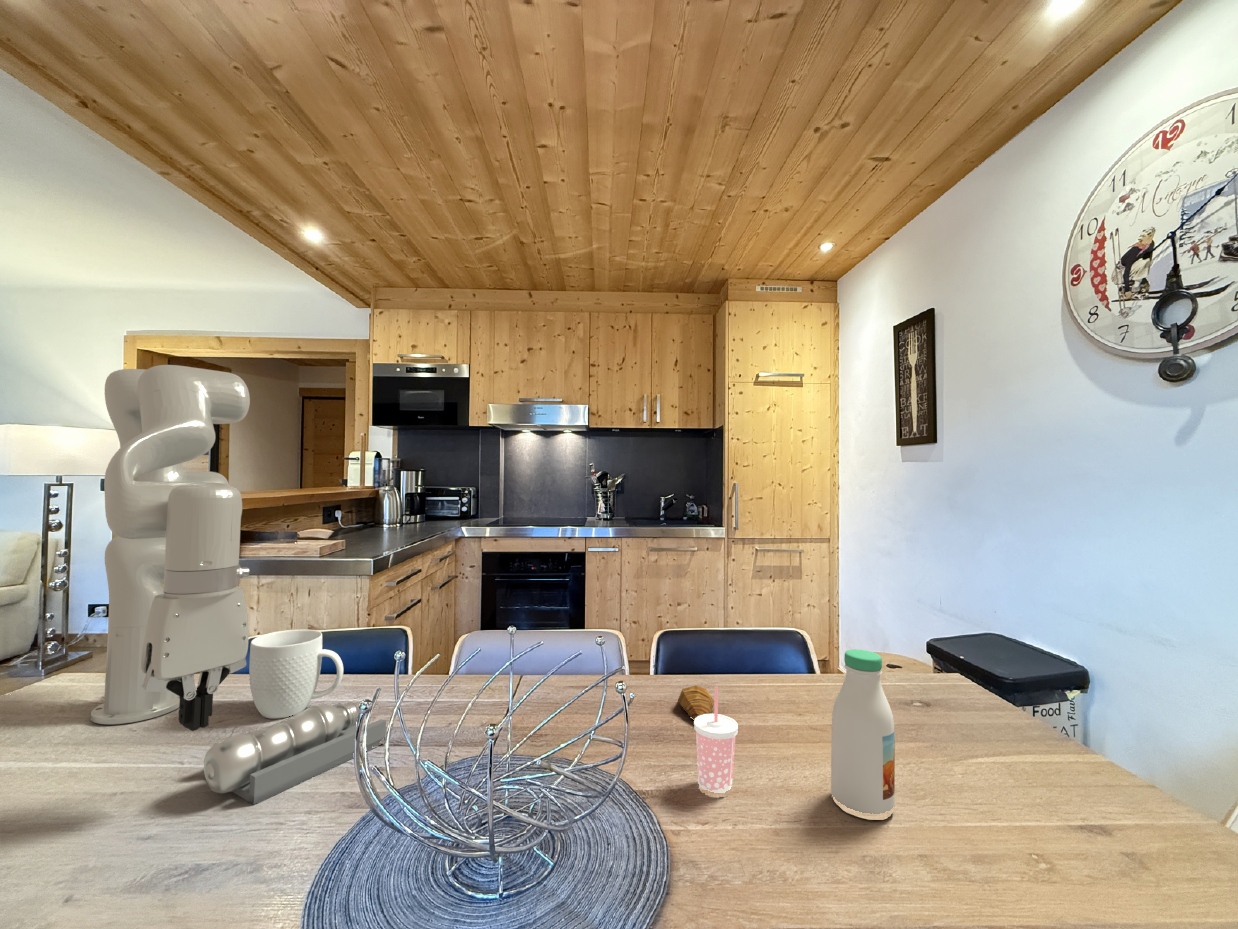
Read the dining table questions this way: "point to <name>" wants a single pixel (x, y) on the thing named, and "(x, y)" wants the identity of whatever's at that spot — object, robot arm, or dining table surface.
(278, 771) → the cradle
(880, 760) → the milk bottle
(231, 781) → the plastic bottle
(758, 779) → the dining table surface
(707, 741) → the beverage cup
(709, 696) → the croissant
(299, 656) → the mug
